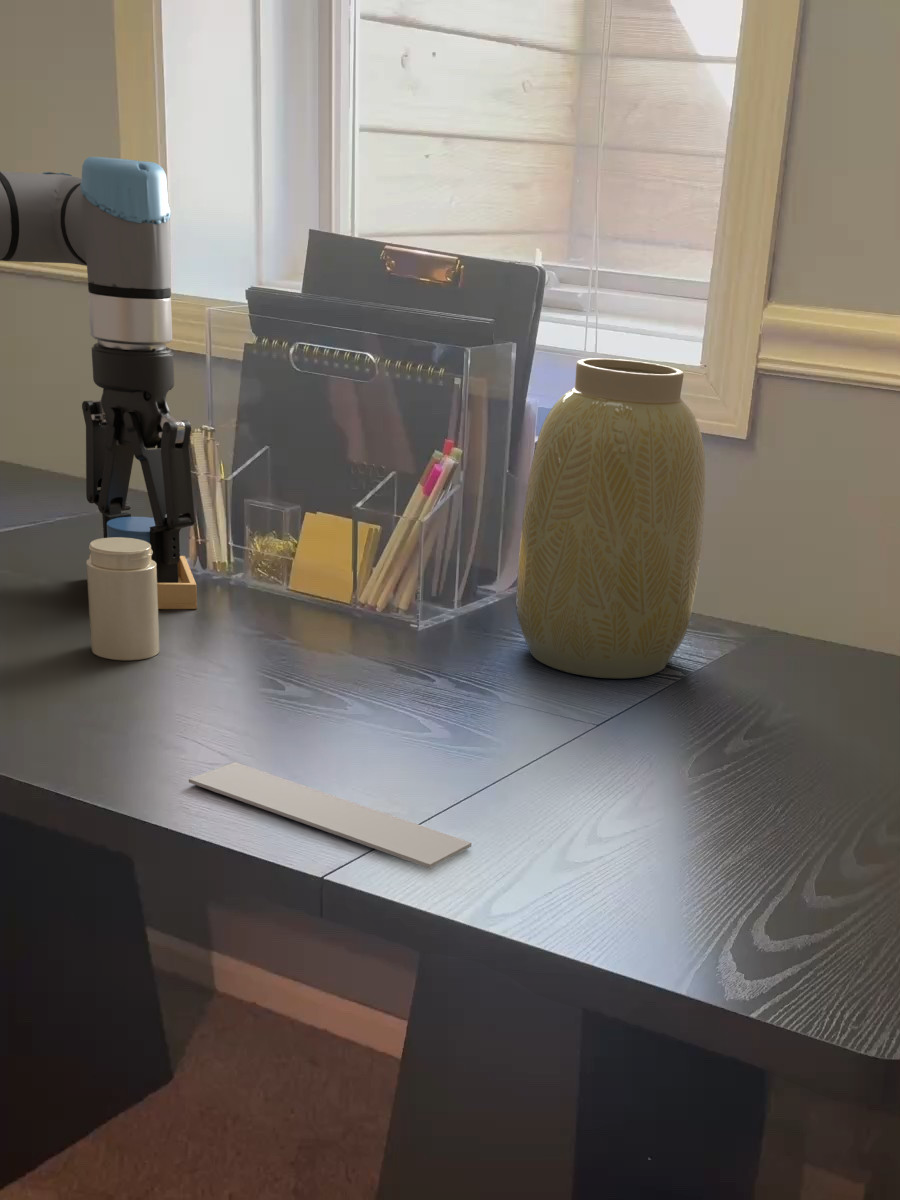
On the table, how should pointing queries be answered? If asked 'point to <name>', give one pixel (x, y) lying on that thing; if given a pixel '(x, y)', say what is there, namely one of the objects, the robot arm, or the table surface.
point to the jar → (123, 599)
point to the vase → (612, 523)
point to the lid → (130, 527)
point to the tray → (178, 590)
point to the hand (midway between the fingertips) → (142, 586)
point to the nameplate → (332, 814)
